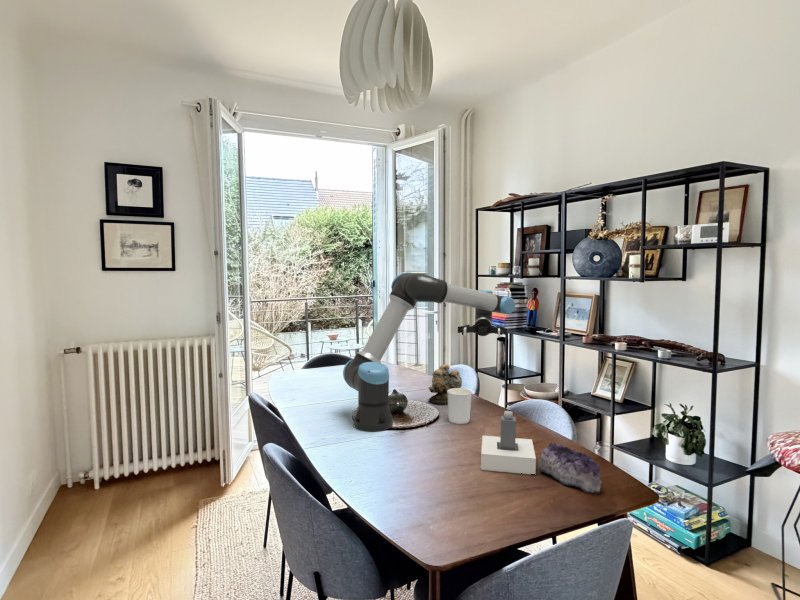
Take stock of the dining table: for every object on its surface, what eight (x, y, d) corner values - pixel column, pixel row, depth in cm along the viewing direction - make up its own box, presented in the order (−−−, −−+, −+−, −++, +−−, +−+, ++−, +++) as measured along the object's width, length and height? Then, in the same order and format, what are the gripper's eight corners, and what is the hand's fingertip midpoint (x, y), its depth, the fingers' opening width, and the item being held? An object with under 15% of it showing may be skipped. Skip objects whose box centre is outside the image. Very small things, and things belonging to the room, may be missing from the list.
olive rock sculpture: (435, 407, 209) (436, 368, 208) (422, 400, 219) (422, 363, 218) (469, 402, 217) (470, 365, 216) (454, 395, 228) (455, 360, 226)
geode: (615, 488, 135) (615, 455, 133) (588, 503, 129) (587, 469, 127) (558, 460, 152) (557, 430, 150) (531, 472, 146) (530, 442, 145)
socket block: (480, 469, 145) (481, 453, 145) (482, 449, 161) (482, 435, 161) (535, 474, 142) (535, 458, 142) (531, 454, 158) (531, 439, 158)
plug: (499, 460, 150) (501, 413, 149) (499, 455, 154) (501, 409, 153) (514, 462, 149) (516, 414, 148) (514, 456, 153) (515, 410, 152)
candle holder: (470, 425, 186) (471, 395, 185) (445, 423, 188) (445, 393, 187) (472, 417, 195) (472, 388, 194) (447, 415, 197) (448, 387, 196)
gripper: (511, 336, 210) (513, 343, 189) (454, 333, 214) (450, 341, 194) (512, 319, 209) (514, 325, 188) (454, 317, 214) (450, 322, 193)
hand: (481, 333), depth 191 cm, fingers open, 13 cm apart
